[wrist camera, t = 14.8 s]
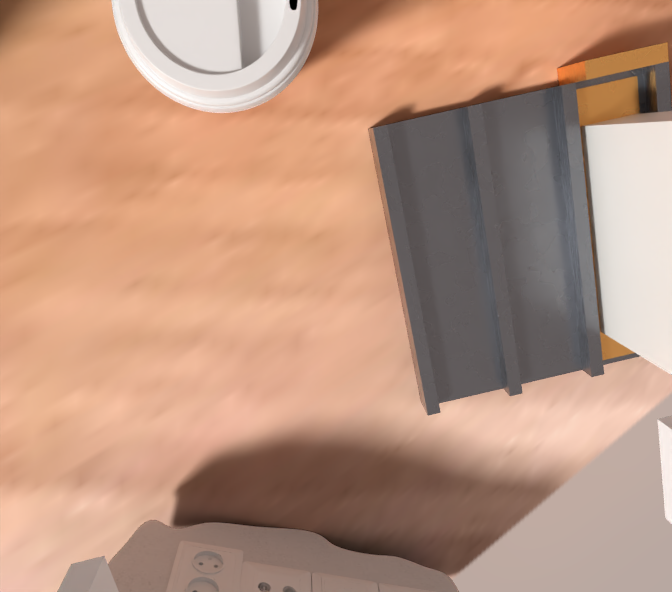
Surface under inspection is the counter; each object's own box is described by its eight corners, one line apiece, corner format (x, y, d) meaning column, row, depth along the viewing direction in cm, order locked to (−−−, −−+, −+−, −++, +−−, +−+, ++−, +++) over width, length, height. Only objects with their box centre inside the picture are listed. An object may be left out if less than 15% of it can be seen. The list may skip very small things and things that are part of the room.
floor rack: (364, 111, 41) (372, 108, 37) (645, 48, 42) (682, 38, 38) (421, 401, 47) (432, 424, 43) (665, 344, 48) (698, 362, 44)
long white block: (581, 126, 41) (693, 119, 30) (635, 113, 41) (768, 102, 30) (601, 332, 46) (706, 396, 34) (649, 320, 46) (771, 380, 34)
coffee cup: (283, 141, 41) (279, 141, 27) (152, 92, 40) (73, 63, 25) (329, 5, 39) (351, -76, 25) (192, -52, 38) (130, -174, 23)
